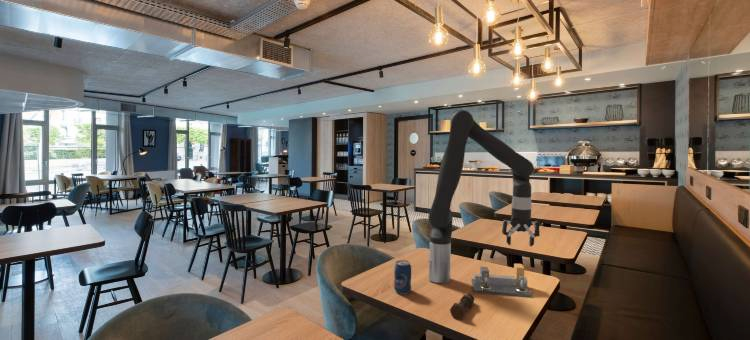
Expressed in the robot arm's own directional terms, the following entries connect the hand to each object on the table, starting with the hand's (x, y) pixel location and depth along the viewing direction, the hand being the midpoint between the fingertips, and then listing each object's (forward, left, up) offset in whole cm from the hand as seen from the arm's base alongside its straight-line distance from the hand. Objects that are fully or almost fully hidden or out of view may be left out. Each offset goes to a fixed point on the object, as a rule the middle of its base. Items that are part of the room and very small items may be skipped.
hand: (520, 245), depth 142 cm
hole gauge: (-8, -3, -18) cm, 20 cm away
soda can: (-48, -13, -18) cm, 53 cm away
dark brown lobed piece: (-24, -25, -18) cm, 39 cm away
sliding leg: (0, -1, -16) cm, 16 cm away
